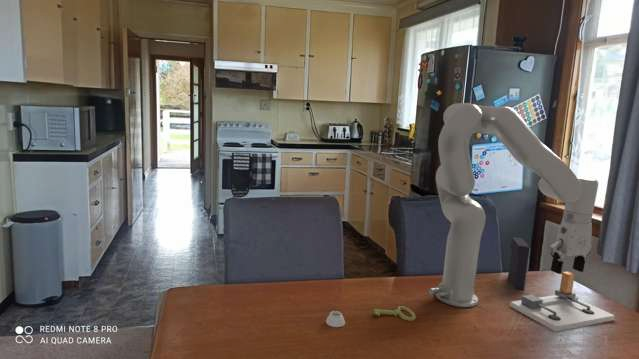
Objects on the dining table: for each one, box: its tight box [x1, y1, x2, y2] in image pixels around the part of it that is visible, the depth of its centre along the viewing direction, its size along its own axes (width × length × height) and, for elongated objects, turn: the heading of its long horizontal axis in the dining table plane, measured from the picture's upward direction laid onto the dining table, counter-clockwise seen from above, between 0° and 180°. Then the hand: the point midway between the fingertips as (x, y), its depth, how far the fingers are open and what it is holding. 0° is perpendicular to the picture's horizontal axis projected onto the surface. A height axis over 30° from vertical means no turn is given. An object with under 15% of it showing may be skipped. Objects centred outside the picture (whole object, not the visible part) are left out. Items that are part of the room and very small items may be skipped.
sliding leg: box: [554, 271, 590, 310], centre depth 137 cm, size 4×10×8 cm, turn 23°
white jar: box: [325, 310, 346, 328], centre depth 119 cm, size 5×3×5 cm
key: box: [372, 305, 417, 321], centre depth 126 cm, size 7×12×2 cm, turn 117°
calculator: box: [507, 237, 531, 290], centre depth 156 cm, size 11×4×15 cm, turn 168°
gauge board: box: [509, 294, 615, 332], centre depth 135 cm, size 24×16×4 cm, turn 113°
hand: (566, 271), depth 139 cm, fingers open, 9 cm apart
